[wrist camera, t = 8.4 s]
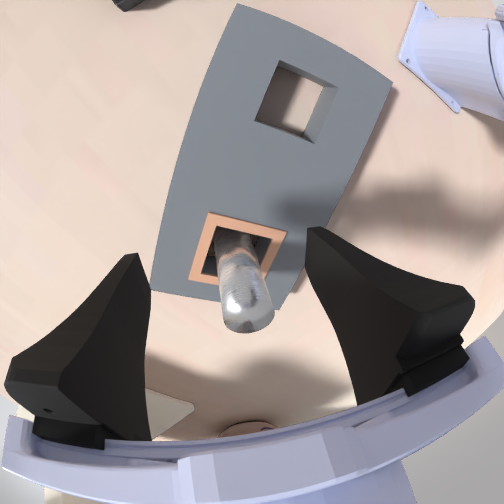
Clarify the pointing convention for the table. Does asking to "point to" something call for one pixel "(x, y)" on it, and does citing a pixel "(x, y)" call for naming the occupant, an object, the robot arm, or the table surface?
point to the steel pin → (241, 282)
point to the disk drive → (126, 4)
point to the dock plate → (263, 155)
